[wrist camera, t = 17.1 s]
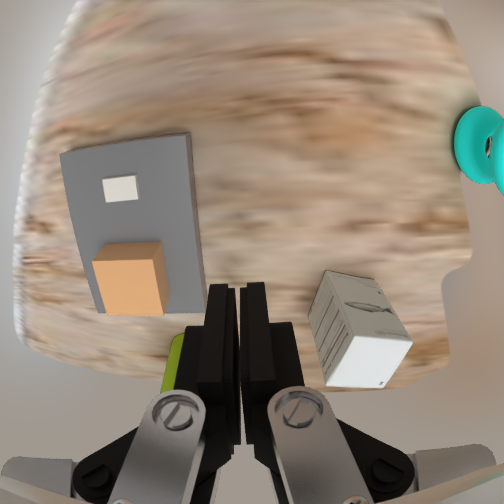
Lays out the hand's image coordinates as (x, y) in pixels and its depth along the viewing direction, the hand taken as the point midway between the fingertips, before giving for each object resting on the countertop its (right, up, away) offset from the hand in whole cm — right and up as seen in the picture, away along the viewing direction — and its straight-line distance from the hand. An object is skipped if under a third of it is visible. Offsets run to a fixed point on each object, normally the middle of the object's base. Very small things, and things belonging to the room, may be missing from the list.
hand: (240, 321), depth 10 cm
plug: (-12, +1, +27) cm, 29 cm away
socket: (-13, +5, +25) cm, 28 cm away
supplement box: (+12, -4, +30) cm, 33 cm away
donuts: (+29, +16, +21) cm, 40 cm away
